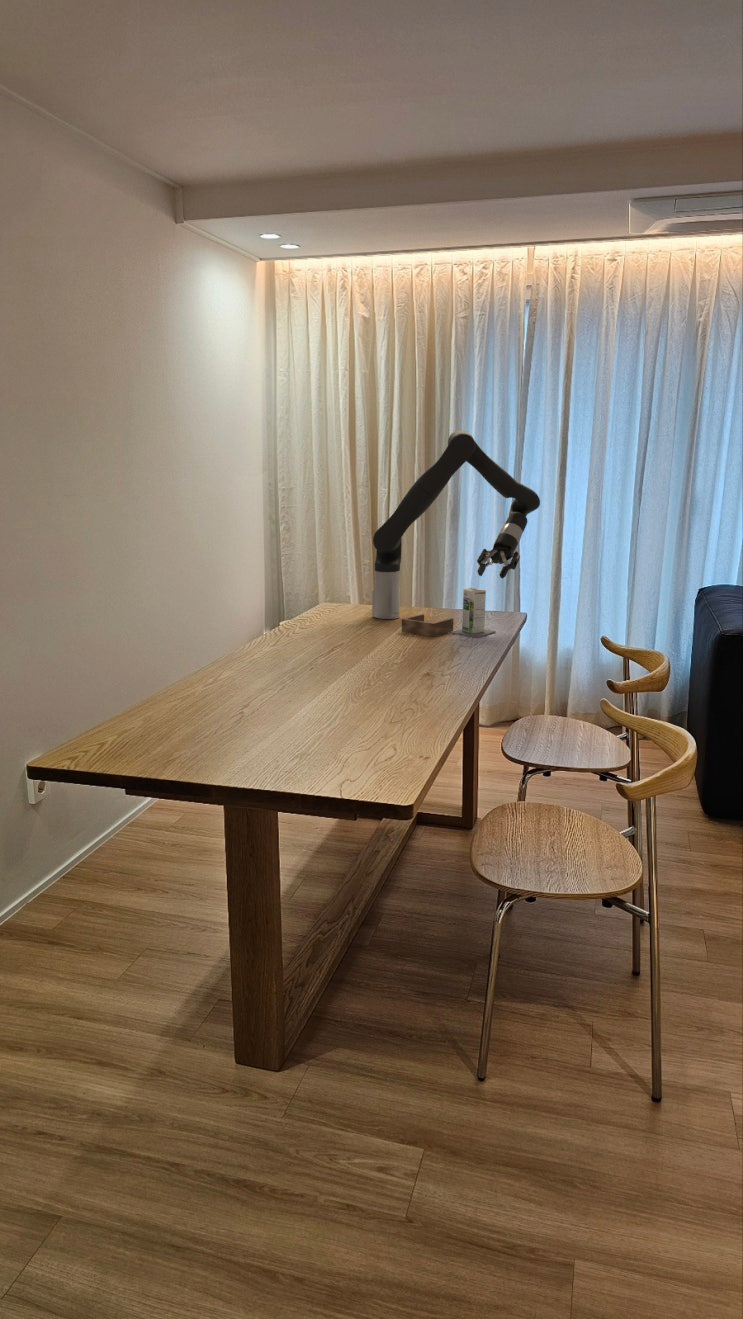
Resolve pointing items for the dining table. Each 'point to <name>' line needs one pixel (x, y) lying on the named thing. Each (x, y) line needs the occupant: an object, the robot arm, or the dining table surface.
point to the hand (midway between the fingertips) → (490, 575)
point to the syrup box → (473, 610)
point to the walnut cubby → (426, 626)
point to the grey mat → (481, 634)
